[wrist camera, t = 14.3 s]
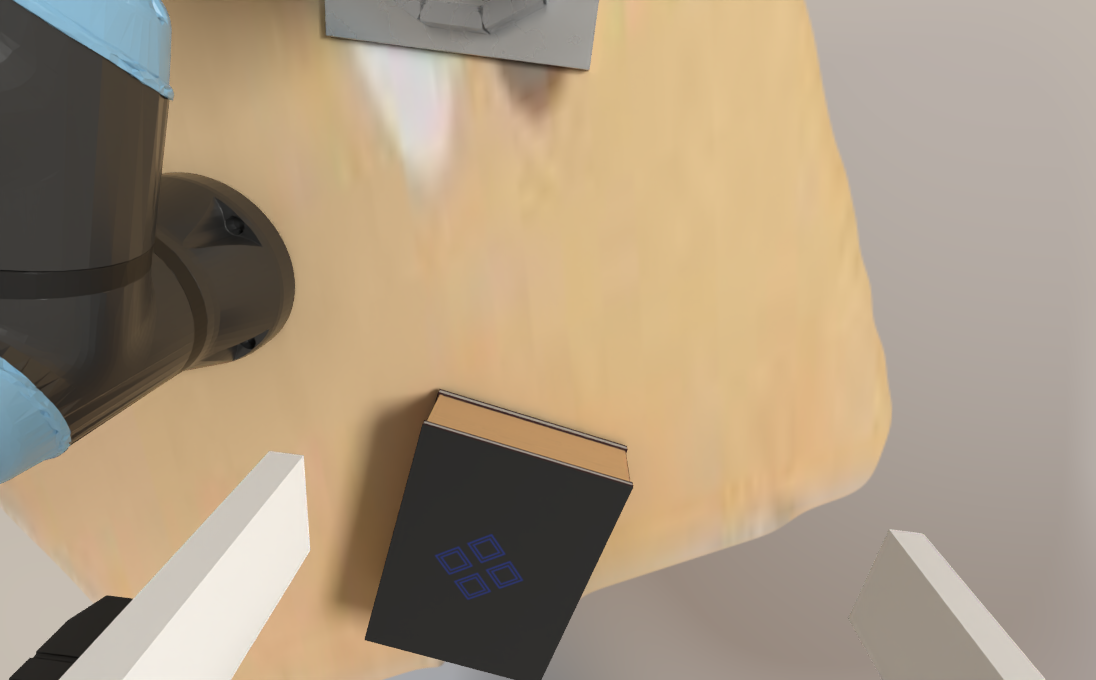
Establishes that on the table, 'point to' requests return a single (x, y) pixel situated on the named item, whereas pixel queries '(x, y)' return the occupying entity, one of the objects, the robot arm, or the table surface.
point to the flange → (474, 27)
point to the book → (496, 537)
